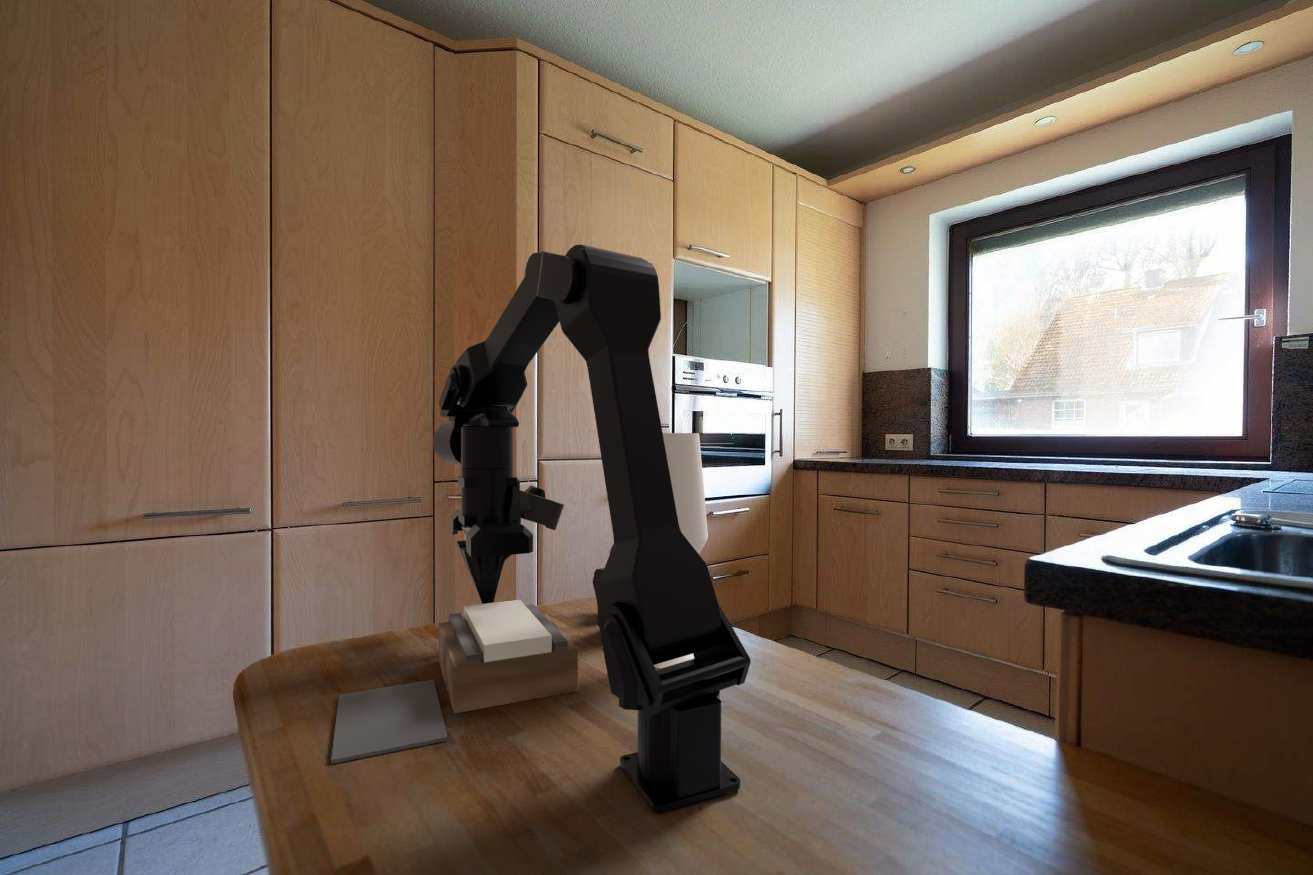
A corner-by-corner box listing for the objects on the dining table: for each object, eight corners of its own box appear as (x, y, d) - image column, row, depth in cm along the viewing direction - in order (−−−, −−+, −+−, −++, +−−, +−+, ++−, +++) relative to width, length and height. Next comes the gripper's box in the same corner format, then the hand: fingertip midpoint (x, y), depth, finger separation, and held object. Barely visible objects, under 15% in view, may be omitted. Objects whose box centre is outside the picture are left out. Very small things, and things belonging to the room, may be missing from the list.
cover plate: (551, 651, 55) (551, 635, 55) (484, 662, 53) (484, 645, 53) (520, 613, 67) (520, 599, 67) (463, 620, 64) (463, 606, 64)
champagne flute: (649, 672, 61) (650, 433, 61) (640, 648, 67) (641, 432, 67) (714, 668, 62) (715, 433, 62) (699, 645, 68) (700, 433, 68)
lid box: (577, 690, 56) (578, 639, 56) (453, 713, 52) (454, 657, 52) (542, 645, 68) (542, 603, 68) (438, 661, 63) (438, 615, 63)
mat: (447, 740, 47) (447, 736, 47) (331, 763, 44) (331, 759, 44) (433, 682, 58) (433, 679, 58) (339, 697, 55) (339, 694, 55)
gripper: (581, 470, 64) (581, 618, 64) (537, 463, 81) (537, 580, 81) (471, 473, 59) (471, 633, 59) (449, 464, 76) (449, 589, 76)
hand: (487, 605), depth 69 cm, fingers closed
